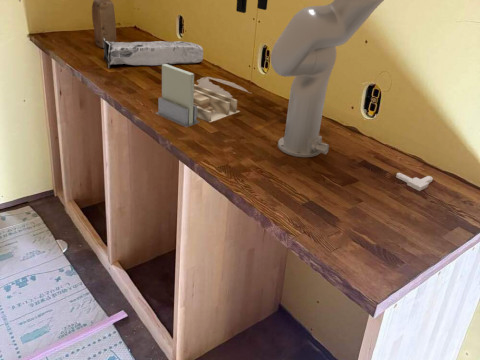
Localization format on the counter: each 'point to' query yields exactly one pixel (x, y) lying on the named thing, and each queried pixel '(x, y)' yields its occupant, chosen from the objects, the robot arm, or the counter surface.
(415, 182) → the corner connector
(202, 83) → the stone tablet
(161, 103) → the stand
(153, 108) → the counter surface
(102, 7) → the block
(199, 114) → the rack
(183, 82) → the grey-green panel
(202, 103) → the offcut stack
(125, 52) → the concrete block
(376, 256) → the counter surface
